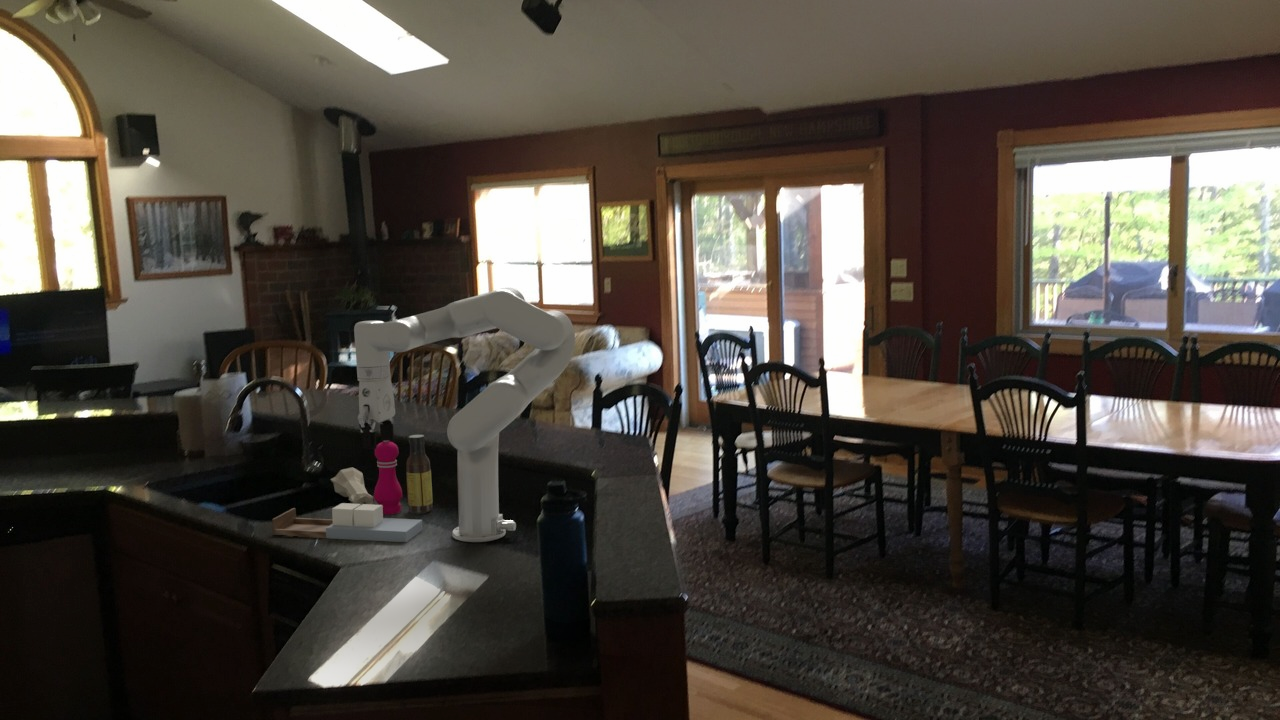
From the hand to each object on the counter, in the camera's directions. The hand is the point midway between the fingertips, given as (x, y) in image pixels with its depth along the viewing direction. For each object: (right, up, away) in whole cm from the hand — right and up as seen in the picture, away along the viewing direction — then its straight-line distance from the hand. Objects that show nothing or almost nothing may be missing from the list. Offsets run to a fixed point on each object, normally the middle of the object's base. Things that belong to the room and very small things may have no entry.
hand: (378, 444), depth 233 cm
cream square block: (-8, -19, +3) cm, 21 cm away
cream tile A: (-3, -19, +2) cm, 19 cm away
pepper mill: (-3, -20, +22) cm, 29 cm away
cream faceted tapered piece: (-14, -19, +29) cm, 37 cm away
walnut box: (-18, -21, +5) cm, 28 cm away
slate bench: (-1, -22, +2) cm, 22 cm away
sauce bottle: (+5, -19, +22) cm, 30 cm away
